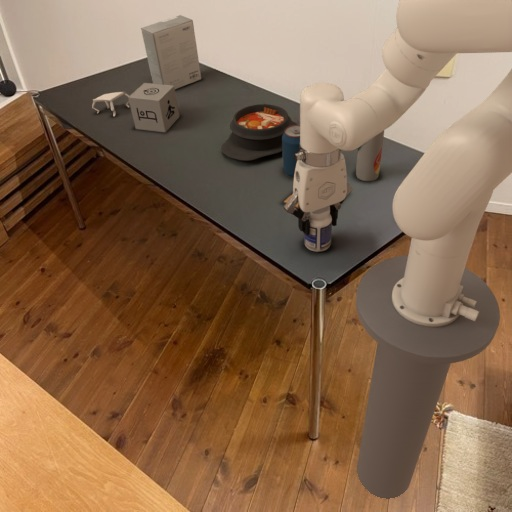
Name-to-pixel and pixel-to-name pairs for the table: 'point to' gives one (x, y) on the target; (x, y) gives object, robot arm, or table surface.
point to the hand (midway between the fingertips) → (317, 226)
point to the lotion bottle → (370, 158)
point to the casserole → (256, 132)
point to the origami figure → (109, 100)
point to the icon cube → (154, 107)
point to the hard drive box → (172, 52)
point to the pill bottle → (319, 230)
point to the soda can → (290, 148)
